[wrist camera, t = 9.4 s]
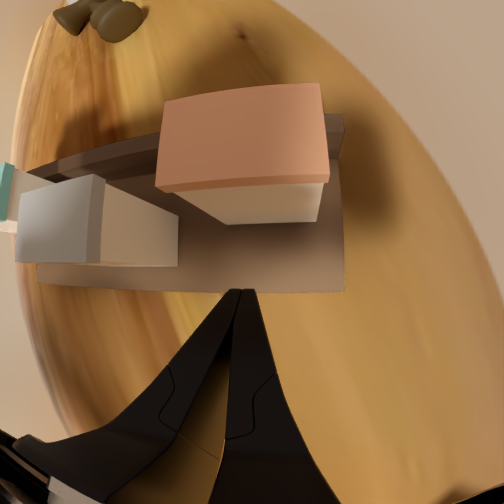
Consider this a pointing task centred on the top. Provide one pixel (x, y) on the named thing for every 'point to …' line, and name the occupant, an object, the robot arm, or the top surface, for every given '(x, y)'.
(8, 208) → the teal key
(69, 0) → the flask
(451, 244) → the top surface
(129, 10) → the kendama
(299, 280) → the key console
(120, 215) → the grey key
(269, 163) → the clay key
